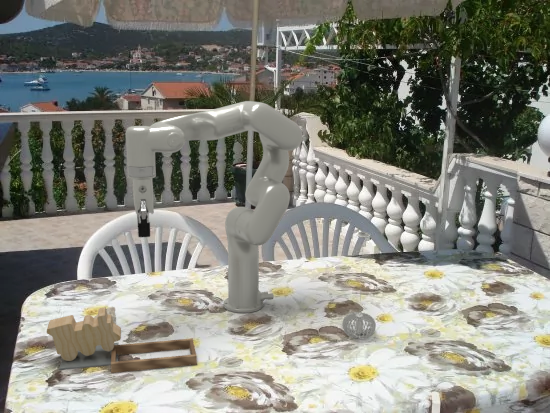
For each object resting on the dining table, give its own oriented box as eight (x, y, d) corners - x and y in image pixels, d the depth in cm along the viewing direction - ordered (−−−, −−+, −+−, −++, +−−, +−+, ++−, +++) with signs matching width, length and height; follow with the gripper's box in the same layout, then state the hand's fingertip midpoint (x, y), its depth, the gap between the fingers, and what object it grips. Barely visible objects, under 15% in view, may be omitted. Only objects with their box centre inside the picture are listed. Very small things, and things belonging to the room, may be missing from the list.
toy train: (123, 348, 160) (114, 312, 157) (55, 364, 157) (45, 328, 154) (123, 338, 165) (115, 304, 162) (57, 354, 162) (48, 319, 159)
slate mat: (118, 343, 169) (118, 342, 168) (117, 364, 157) (117, 362, 157) (64, 348, 165) (64, 347, 165) (59, 369, 154) (59, 368, 154)
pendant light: (377, 331, 178) (383, 230, 172) (371, 344, 170) (377, 239, 163) (346, 326, 181) (350, 227, 175) (338, 339, 173) (342, 235, 166)
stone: (88, 349, 173) (84, 327, 167) (91, 314, 182) (89, 291, 176) (116, 348, 174) (114, 326, 168) (118, 313, 184) (116, 291, 177)
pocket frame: (192, 346, 167) (192, 338, 167) (196, 364, 157) (196, 355, 157) (112, 353, 163) (111, 345, 162) (111, 372, 153) (110, 364, 152)
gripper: (157, 176, 162) (159, 240, 166) (154, 166, 179) (156, 223, 182) (127, 177, 161) (130, 241, 164) (127, 166, 177) (130, 225, 181)
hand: (143, 232), depth 173 cm, fingers open, 9 cm apart
